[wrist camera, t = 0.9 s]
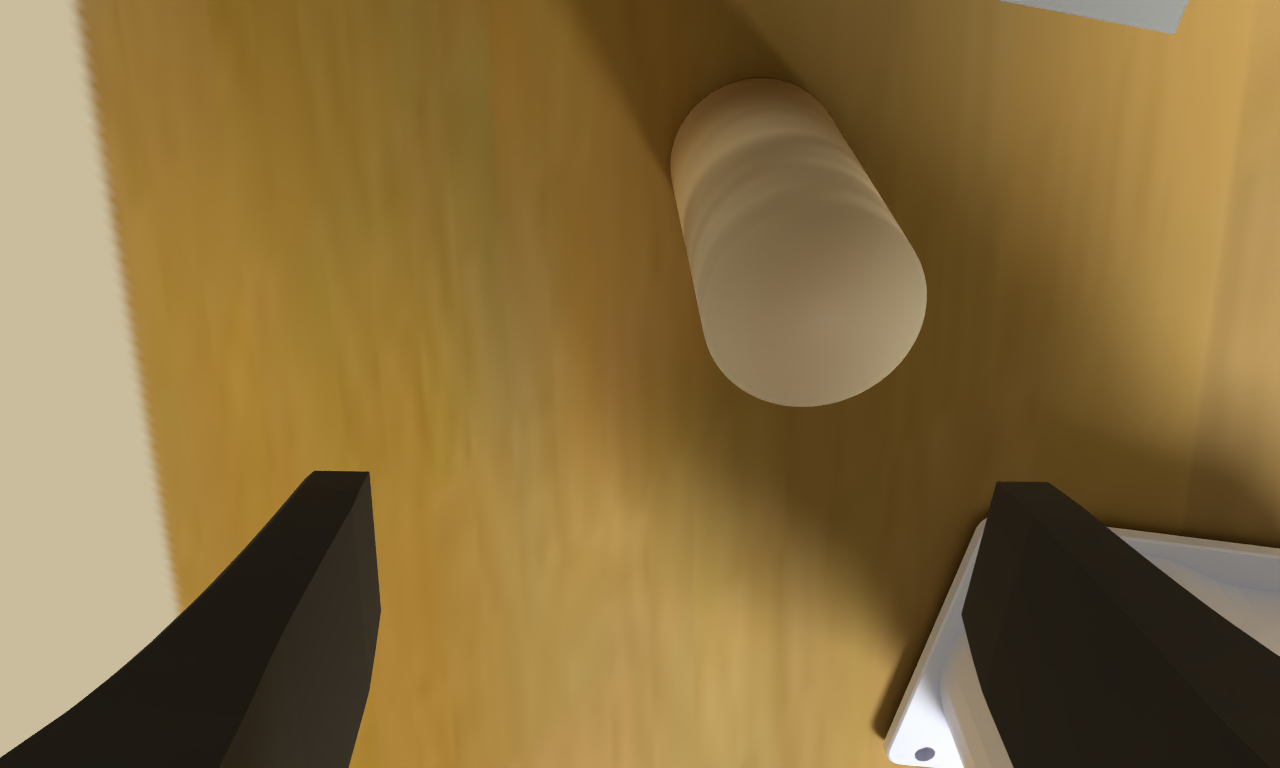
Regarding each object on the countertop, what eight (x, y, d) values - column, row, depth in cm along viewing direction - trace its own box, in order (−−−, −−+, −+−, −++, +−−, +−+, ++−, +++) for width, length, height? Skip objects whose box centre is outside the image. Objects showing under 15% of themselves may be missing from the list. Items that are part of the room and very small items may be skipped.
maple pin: (861, 94, 21) (957, 225, 15) (814, 253, 22) (888, 419, 17) (689, 63, 20) (731, 188, 15) (655, 228, 22) (680, 391, 17)
